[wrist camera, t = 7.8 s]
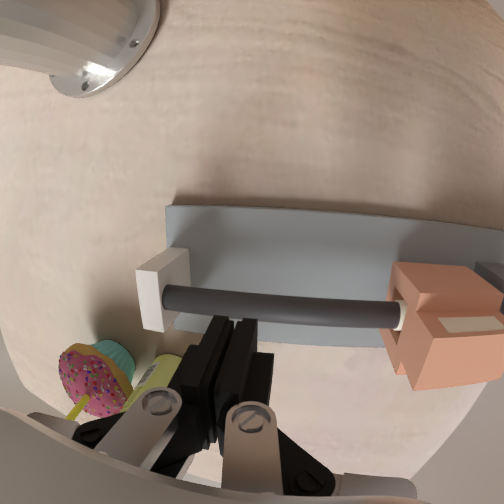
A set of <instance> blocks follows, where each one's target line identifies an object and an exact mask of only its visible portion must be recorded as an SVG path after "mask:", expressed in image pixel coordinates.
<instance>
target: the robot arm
mask: <svg viewBox="0 0 504 504" xmlns="http://www.w3.org/2000/svg"><path fill="white" fill-rule="evenodd" d="M159 18H160V2H159V0H0V65H5V66H11V67H16V68H22V69H27V70H32V71H37V72H42V73H46V74H49V77H50V81H51V83H52V85H53V87H54V88H55V89H56V90H57V91H58V92H59V93H61V94H63V95H65V96H70V97H74V98H84V97H88V96H93V95H95V94H97V93H99V92H102V91H104V90H105V89H107V88H108V87H110V86H112V85H113V84H115V83H116V82H117V81H118V80H119V79H121V78H122V77H123V76H124V75H125V74H126V73H127V72H128V71H129V70H130V69H131V68H132V67H133V66H134V65H135V64H136V62H137V61H138V60H139V58H140V57H141V56H142V55H143V53H144V52H145V50H146V49H147V47H148V45H149V43H150V42H151V40H152V38H153V36H154V33H155V31H156V29H157V26H158V22H159ZM257 336H258V319H253V318H243V320H242V321H237V323H236V326H235V329H234V321H233V320H229V316H221V315H214V316H213V318H212V320H211V322H210V324H209V326H208V328H207V330H206V332H205V334H204V336H203V338H202V340H201V342H200V344H199V345H192V344H191V345H190V346H189V347H188V349H187V351H186V353H185V354H184V356H183V358H182V360H181V362H180V364H179V365H178V367H177V369H176V371H175V373H174V375H173V377H172V378H171V380H170V382H169V384H168V386H167V388H166V387H155V388H151V389H149V390H146V391H145V392H143V393H142V394H141V395H140V396H139V397H138V398H137V400H136V401H135V402H134V403H133V404H132V405H131V407H130V408H129V409H128V410H127V411H124V412H121V413H118V414H114V415H111V416H108V417H104V418H101V419H97V420H93V421H90V422H87V423H84V424H82V425H80V424H79V423H78V422H76V421H72V420H67V419H62V418H59V417H55V416H51V415H47V414H43V413H39V412H34V413H30V414H29V415H27V416H26V415H24V414H22V413H19V412H17V411H14V410H11V409H8V408H4V407H0V504H431V503H429V502H425V501H422V500H418V499H417V490H416V487H415V485H414V484H413V483H412V482H411V481H409V480H408V479H404V478H396V477H380V476H369V475H360V474H352V473H344V474H343V475H340V474H334V473H332V472H331V471H330V470H329V469H328V468H326V467H325V466H324V465H322V464H321V463H320V462H318V461H317V460H316V459H315V458H313V457H312V456H311V455H310V454H308V453H307V452H306V451H305V450H303V449H302V448H301V447H300V446H298V445H297V444H296V443H295V442H294V441H292V440H291V439H290V438H289V437H288V436H286V435H285V434H284V433H283V432H282V431H281V430H280V429H278V428H277V421H276V416H275V413H274V411H273V410H272V409H271V408H270V407H269V400H270V392H271V384H272V375H273V363H274V354H273V353H261V352H257ZM217 437H218V442H219V449H220V454H221V456H222V457H223V467H222V483H221V488H216V487H211V486H206V485H201V484H196V483H191V482H187V481H183V480H182V478H183V477H184V475H185V473H186V472H187V470H188V468H189V466H190V465H191V463H192V461H193V459H194V456H195V455H194V454H195V453H198V452H200V451H202V449H206V450H209V446H210V443H216V441H217Z"/></svg>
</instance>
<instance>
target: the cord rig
mask: <svg viewBox="0 0 504 504" xmlns="http://www.w3.org/2000/svg"><path fill="white" fill-rule="evenodd" d="M165 212H166V236H167V250H165V251H163V252H162V253H160V254H159V255H157V256H155V257H154V258H152V259H151V260H149V261H148V262H146V263H145V264H143V265H141V266H140V267H138V268H137V269H135V273H136V281H137V289H138V297H139V304H140V310H141V317H142V323H143V329H147V330H153V331H158V332H163V333H164V332H165V331H166V330H167V329H168V327H169V326H170V325H171V324H172V323H173V321H174V329H175V330H181V331H187V332H193V333H200V334H205V332H206V330H207V328H208V326H209V324H210V322H211V320H212V318H213V316H214V315H221V316H229V320H233V321H234V329H235V326H236V323H237V321H242V320H243V318H253V319H258V336H257V341H265V342H276V343H287V344H301V345H316V346H336V347H374V348H386V347H385V344H384V342H383V339H382V337H381V334H380V332H379V329H393V330H401V329H402V326H403V322H404V318H405V314H406V310H407V306H408V304H407V303H406V302H405V300H396V301H386V296H387V291H388V285H389V280H390V274H391V269H392V262H393V261H395V262H410V263H425V264H440V265H455V266H466V267H468V268H469V269H471V270H472V271H473V272H475V273H476V274H478V275H479V276H480V277H482V278H483V279H484V280H486V281H487V282H488V283H490V284H491V285H492V286H494V287H495V288H496V289H498V290H499V291H500V292H501V293H503V294H504V231H502V230H496V229H489V228H482V227H476V226H469V225H461V224H454V223H446V222H438V221H430V220H421V219H412V218H403V217H393V216H383V215H372V214H361V213H349V212H336V211H323V210H308V209H291V208H273V207H251V206H222V205H168V206H165ZM499 311H500V312H501V313H502V314H503V315H504V297H503V300H502V303H501V307H500V310H499Z"/></svg>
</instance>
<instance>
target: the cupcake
mask: <svg viewBox="0 0 504 504" xmlns="http://www.w3.org/2000/svg"><path fill="white" fill-rule="evenodd" d="M59 361H60V362H59V367H58V368H59V375H60V379H61V380H62V383H63V386H64V388H65V390H66V392H67V393H68V394H69V395H68V396H69V397H70V398H71V399H72V401H73V402H74V404H76V405H75V407H74V408H73V409H72V410H71V412H70V413H69V414H68V415H67V417H66V418H65V419H67V420H72V421H74V420H75V418H76V417H77V416H78V414H79V413H80V412H81V410H82V409H83V410H84V411H85V412H86V413H87V412H88V413H90V414H92V415H94V416H97V417H100V418H104V417H108V416H111V415H114V414H118V413H119V412H120V411H121V409H122V408H123V406H124V404H125V403H126V401H127V400H128V398H129V397H130V395H131V394H132V392H133V391H134V390H133V387H132V385H131V382H132V378H133V375H134V372H135V364H134V361H133V358H132V357H131V355H130V354H129V352H128V351H127V350H126V349H125V348H124V347H123V346H121V345H120V344H118V343H117V342H114V341H112V340H103V341H101V342H98V343H95V344H92V345H85V344H80V343H76V344H73V345H72V346H70V347H69V348H68V349H67V350H66V351H65V352H63V353H62V355H60V360H59Z"/></svg>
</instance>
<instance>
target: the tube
mask: <svg viewBox="0 0 504 504" xmlns="http://www.w3.org/2000/svg"><path fill="white" fill-rule="evenodd" d="M181 360H182V358H181V357H178V356H175V355H170V354H165V355H161V356H158V357H157V358H156V359H155V360H154V361H153V362H152V364H151V365H150V367H149V368H148V370H147V371H146V373H145V374H144V376H143V377H142V379H141V380H140V381H139V383H138V385H137V386H136V388H135V389H134V391H133V392H132V394H131V395H130V397H129V398H128V400H127V401H126V403H125V404H124V406H123V408H122V409H121V411H120V412H119V413H121V412H124V411H127V410H128V409H129V408H130V407H131V405H132V404H133V403H134V402H135V401H136V400H137V398H138V397H139V396H140V395H141V394H142V393H143V392H145V391H146V390H149V389H151V388H155V387H166V388H167V386H168V384H169V382H170V380H171V378H172V377H173V375H174V373H175V371H176V369H177V367H178V365H179V364H180V362H181Z"/></svg>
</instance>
